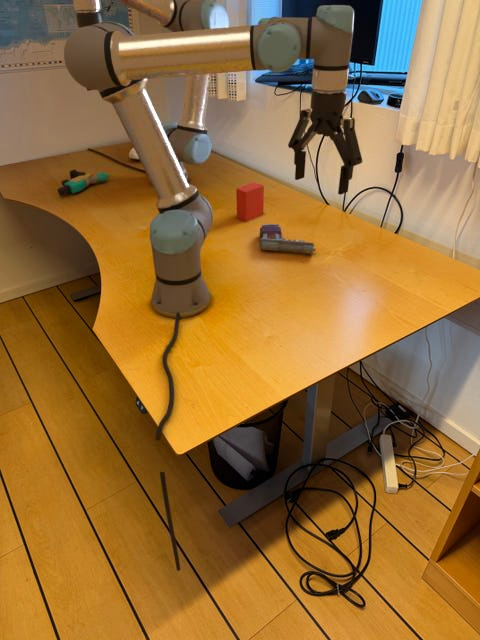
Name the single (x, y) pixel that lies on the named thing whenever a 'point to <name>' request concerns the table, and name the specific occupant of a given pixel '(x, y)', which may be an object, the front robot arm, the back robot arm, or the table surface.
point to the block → (250, 201)
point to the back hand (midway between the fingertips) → (102, 93)
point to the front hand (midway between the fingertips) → (320, 185)
